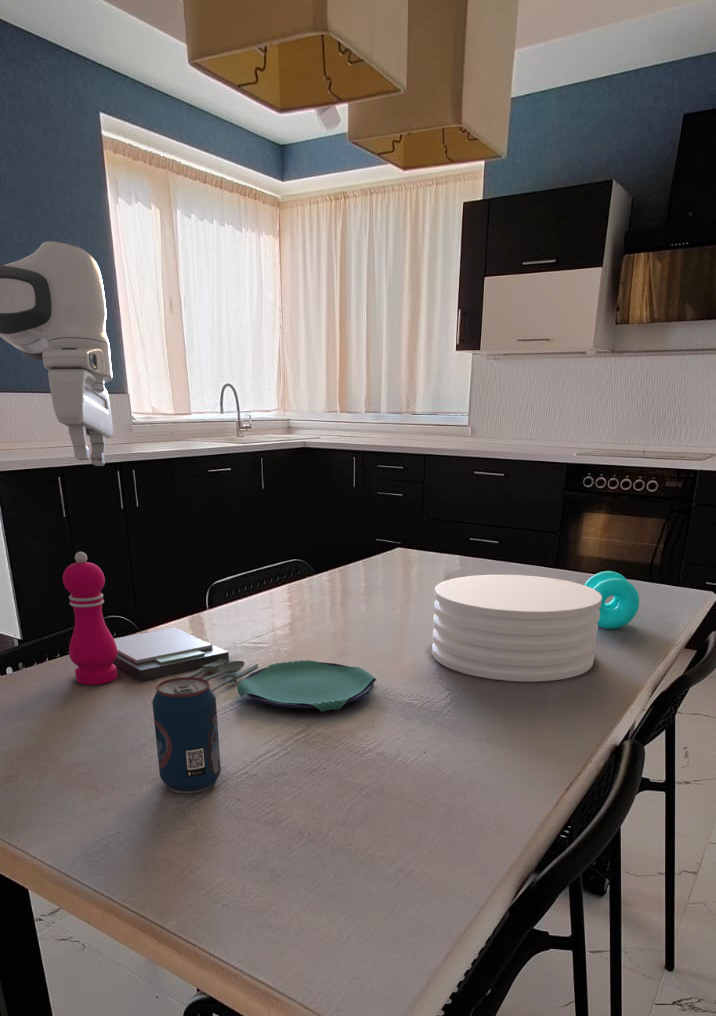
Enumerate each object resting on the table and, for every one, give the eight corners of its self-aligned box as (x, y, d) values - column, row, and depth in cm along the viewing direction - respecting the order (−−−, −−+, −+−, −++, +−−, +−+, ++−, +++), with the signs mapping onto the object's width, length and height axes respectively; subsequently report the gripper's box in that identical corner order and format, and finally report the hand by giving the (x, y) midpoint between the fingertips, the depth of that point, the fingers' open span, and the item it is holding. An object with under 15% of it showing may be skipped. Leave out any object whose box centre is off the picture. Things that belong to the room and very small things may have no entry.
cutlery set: (340, 727, 105) (340, 711, 104) (159, 695, 116) (158, 680, 115) (392, 683, 122) (393, 669, 121) (230, 658, 133) (230, 645, 132)
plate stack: (475, 626, 154) (479, 568, 149) (614, 650, 139) (623, 587, 135) (402, 660, 133) (404, 595, 128) (558, 693, 118) (566, 620, 114)
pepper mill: (127, 672, 126) (113, 548, 118) (110, 687, 119) (93, 556, 111) (84, 670, 126) (67, 547, 118) (65, 685, 120) (45, 555, 112)
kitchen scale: (96, 654, 134) (94, 641, 133) (179, 638, 144) (178, 626, 143) (141, 681, 122) (140, 666, 121) (229, 662, 131) (228, 648, 130)
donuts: (625, 618, 160) (633, 570, 156) (636, 631, 151) (644, 580, 147) (577, 616, 161) (582, 569, 157) (584, 629, 152) (591, 579, 148)
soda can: (155, 775, 91) (145, 679, 86) (213, 765, 94) (206, 672, 89) (167, 800, 85) (157, 699, 81) (228, 789, 88) (221, 691, 83)
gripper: (78, 379, 126) (87, 468, 130) (37, 350, 106) (49, 456, 110) (117, 379, 127) (125, 468, 130) (84, 350, 107) (94, 455, 110)
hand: (90, 462), depth 120 cm, fingers open, 8 cm apart
